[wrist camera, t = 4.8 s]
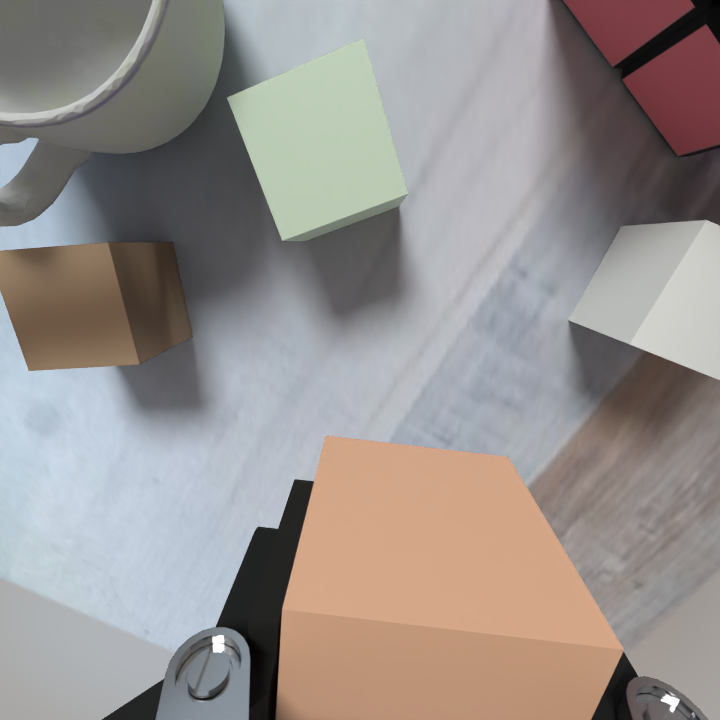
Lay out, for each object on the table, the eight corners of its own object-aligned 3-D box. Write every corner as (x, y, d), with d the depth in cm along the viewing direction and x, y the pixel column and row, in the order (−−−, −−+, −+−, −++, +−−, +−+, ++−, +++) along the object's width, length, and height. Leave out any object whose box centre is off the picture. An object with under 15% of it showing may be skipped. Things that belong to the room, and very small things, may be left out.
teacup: (64, -193, 15) (-279, -676, 7) (302, -3, 16) (236, -225, 8) (-36, 144, 18) (-331, 73, 11) (164, 272, 20) (32, 291, 12)
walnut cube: (81, 249, 20) (-14, 251, 15) (173, 242, 19) (107, 242, 15) (106, 341, 21) (29, 370, 16) (193, 336, 21) (139, 364, 16)
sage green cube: (266, 136, 18) (227, 97, 13) (366, 95, 17) (363, 38, 12) (305, 241, 19) (282, 240, 14) (399, 206, 18) (408, 193, 14)
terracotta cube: (325, 435, 10) (281, 609, 5) (508, 457, 10) (623, 649, 5) (313, 575, 12) (271, 804, 7) (471, 594, 12) (535, 835, 7)
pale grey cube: (620, 226, 18) (706, 220, 14) (708, 263, 19) (822, 270, 14) (567, 320, 20) (629, 344, 15) (650, 352, 20) (736, 386, 15)
